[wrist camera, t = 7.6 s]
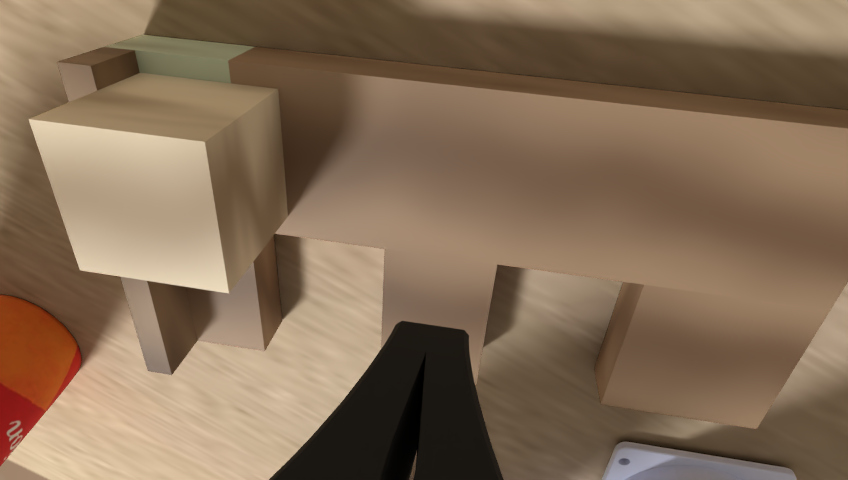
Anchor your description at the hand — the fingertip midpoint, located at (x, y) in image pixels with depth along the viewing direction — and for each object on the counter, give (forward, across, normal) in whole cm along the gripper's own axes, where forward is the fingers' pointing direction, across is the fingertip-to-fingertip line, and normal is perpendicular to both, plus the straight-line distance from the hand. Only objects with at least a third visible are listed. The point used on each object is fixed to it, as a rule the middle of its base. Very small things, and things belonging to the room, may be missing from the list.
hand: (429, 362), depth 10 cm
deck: (+10, 0, +3) cm, 10 cm away
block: (+8, +8, 0) cm, 11 cm away
